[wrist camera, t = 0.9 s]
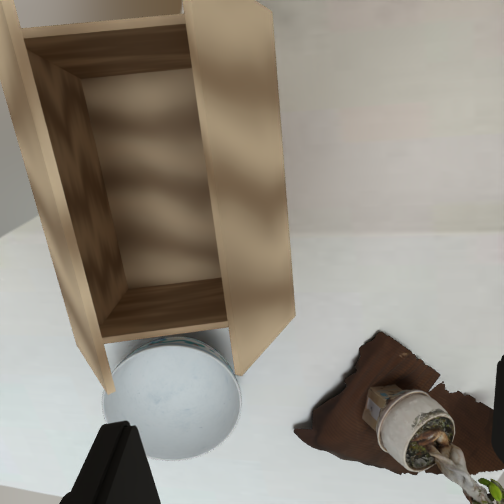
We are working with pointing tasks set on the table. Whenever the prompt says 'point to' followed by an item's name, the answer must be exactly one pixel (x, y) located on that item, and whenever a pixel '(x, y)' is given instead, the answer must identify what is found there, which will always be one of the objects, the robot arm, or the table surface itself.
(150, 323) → the carton
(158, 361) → the chinaware
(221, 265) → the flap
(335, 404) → the potted plant
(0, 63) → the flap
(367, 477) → the table surface
